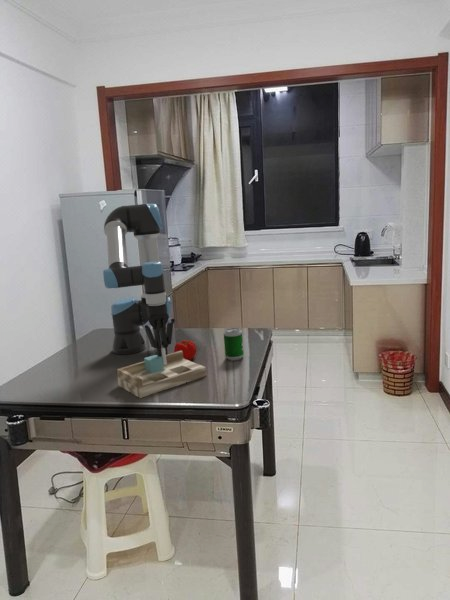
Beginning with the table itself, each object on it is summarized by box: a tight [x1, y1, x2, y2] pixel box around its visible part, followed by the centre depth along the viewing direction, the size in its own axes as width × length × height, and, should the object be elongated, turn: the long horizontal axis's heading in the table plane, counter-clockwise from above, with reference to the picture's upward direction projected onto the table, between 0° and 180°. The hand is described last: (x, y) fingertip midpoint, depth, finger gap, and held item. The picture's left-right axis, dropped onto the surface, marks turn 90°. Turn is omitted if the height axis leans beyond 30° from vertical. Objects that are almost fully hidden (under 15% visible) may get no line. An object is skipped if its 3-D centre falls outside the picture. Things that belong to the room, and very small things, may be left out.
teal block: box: [143, 354, 163, 374], centre depth 191 cm, size 5×5×5 cm
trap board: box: [116, 351, 207, 399], centre depth 189 cm, size 17×28×6 cm, turn 127°
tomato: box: [173, 339, 197, 361], centre depth 212 cm, size 9×9×8 cm
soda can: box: [223, 327, 244, 361], centre depth 208 cm, size 8×8×12 cm
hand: (163, 363), depth 194 cm, fingers closed
